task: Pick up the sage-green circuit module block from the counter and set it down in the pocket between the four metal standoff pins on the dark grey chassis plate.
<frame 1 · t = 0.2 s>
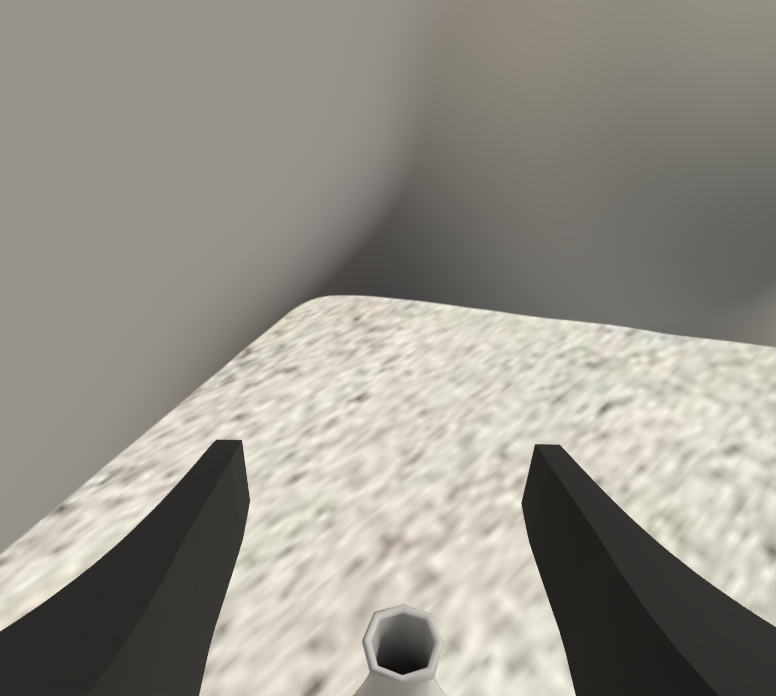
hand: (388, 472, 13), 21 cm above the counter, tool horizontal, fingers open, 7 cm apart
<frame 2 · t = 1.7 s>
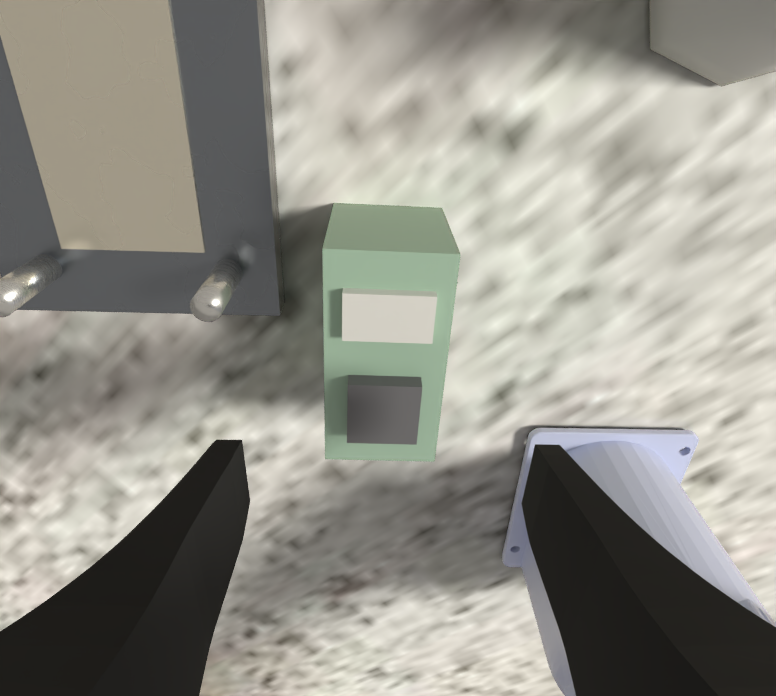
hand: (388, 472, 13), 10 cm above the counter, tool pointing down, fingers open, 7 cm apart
chassis: (120, 108, 18), on the counter
module: (383, 302, 22), on the counter
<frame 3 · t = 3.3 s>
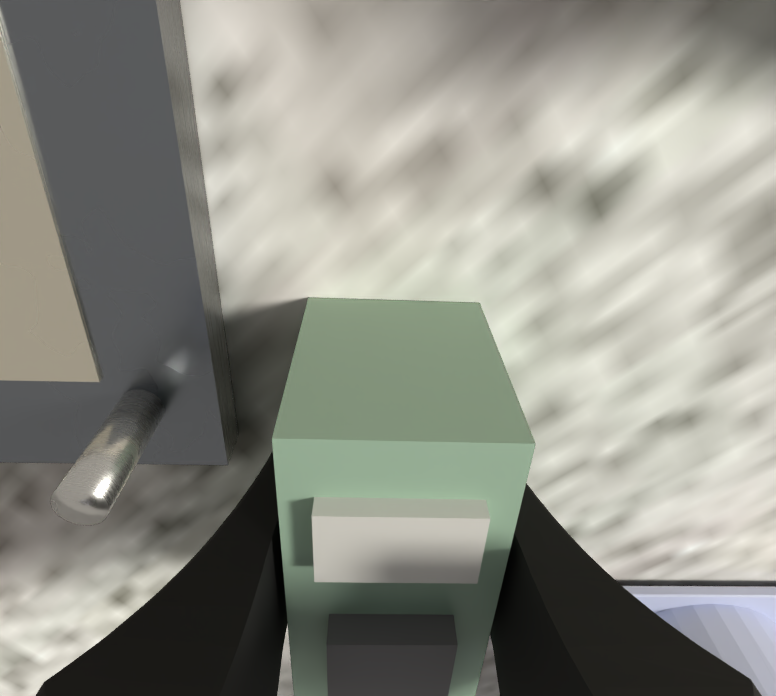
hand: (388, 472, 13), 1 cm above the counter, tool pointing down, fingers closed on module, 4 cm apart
module: (387, 434, 14), on the counter, touching gripper
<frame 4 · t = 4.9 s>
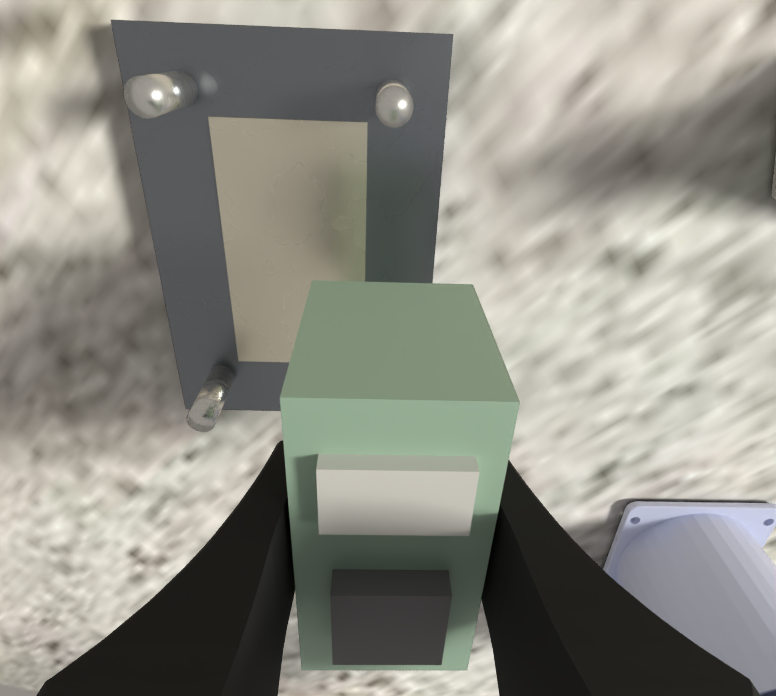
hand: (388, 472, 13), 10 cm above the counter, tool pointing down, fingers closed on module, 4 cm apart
chassis: (300, 243, 20), on the counter
module: (387, 412, 15), point 7 cm above the counter, touching gripper
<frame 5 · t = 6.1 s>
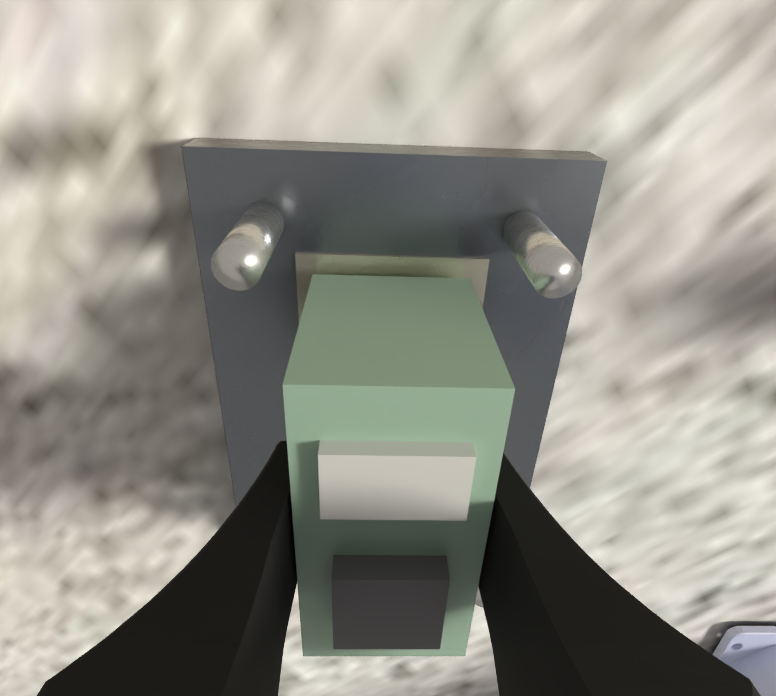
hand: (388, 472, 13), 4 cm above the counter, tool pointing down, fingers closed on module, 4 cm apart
chassis: (385, 375, 17), on the counter
module: (386, 404, 15), point 2 cm above the counter, touching gripper
when the fingers open (4 cm above the counter, at t = 6.7 s): module stays where it is, resting on chassis.
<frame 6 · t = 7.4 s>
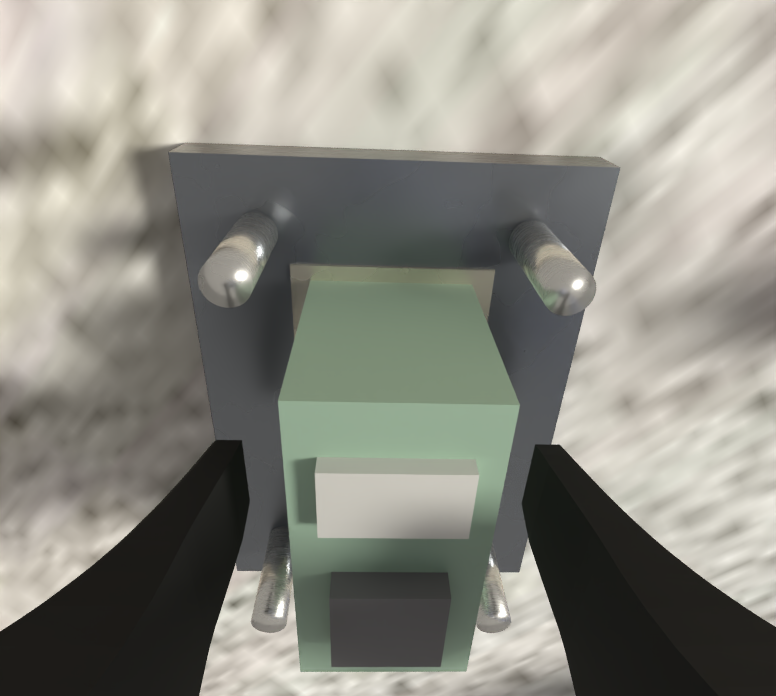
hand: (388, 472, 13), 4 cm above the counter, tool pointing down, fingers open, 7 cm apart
chassis: (385, 389, 16), on the counter
module: (385, 412, 15), point 1 cm above the counter, touching chassis
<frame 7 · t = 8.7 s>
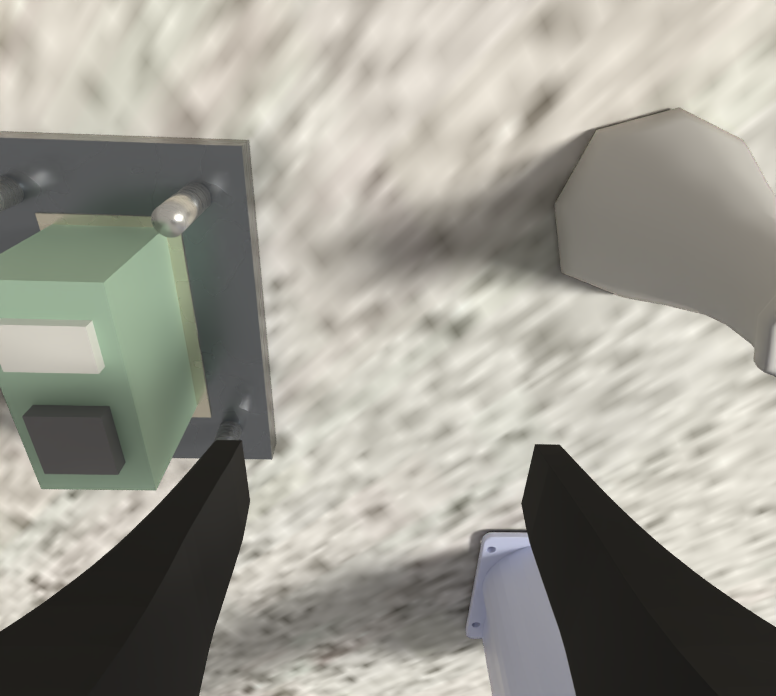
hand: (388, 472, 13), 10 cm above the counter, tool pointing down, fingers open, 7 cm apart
flask: (641, 206, 21), on the counter
chassis: (145, 312, 22), on the counter
module: (131, 324, 21), point 1 cm above the counter, touching chassis
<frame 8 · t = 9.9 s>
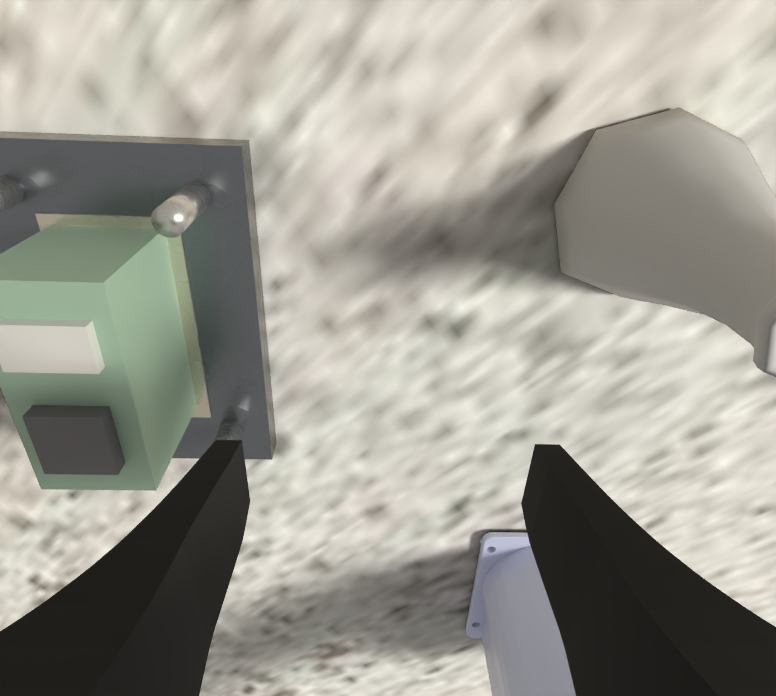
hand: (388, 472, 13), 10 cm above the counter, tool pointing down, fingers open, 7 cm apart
flask: (641, 206, 21), on the counter
chassis: (145, 312, 22), on the counter
module: (131, 324, 21), point 1 cm above the counter, touching chassis
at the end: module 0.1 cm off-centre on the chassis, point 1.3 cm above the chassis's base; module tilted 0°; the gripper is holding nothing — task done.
